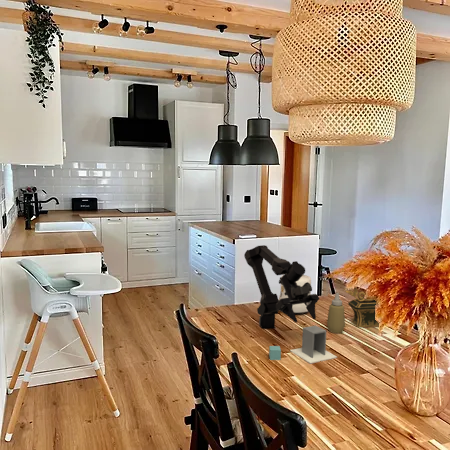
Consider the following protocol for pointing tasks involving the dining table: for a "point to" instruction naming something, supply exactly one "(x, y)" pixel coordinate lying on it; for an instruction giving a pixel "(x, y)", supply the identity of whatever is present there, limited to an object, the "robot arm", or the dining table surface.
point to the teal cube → (274, 352)
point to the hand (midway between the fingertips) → (305, 320)
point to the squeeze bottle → (336, 316)
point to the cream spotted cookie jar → (302, 307)
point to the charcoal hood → (313, 340)
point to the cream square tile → (316, 356)
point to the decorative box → (363, 310)
